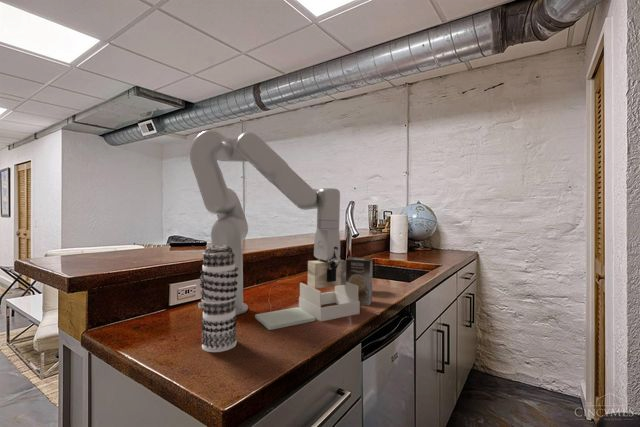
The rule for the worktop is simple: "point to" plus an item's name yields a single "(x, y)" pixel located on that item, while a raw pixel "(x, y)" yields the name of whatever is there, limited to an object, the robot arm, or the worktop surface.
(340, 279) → the birch box
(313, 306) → the carton
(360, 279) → the coffee box
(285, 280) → the worktop surface
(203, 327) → the decorative candle
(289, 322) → the sage board
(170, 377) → the worktop surface
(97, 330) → the worktop surface
